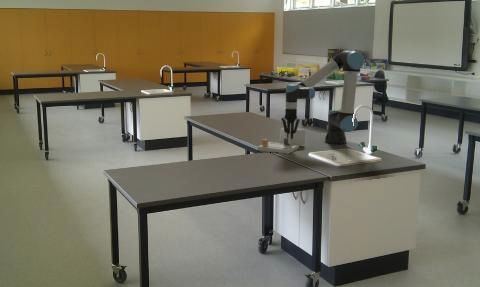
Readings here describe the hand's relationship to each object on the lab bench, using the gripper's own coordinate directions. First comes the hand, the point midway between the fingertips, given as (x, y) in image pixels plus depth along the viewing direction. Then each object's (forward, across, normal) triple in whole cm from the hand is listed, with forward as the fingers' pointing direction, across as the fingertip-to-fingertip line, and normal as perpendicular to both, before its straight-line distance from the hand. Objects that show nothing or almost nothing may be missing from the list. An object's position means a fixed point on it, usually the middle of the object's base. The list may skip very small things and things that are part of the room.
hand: (289, 143), depth 353 cm
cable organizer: (+4, -4, +13) cm, 14 cm away
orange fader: (+1, -13, -11) cm, 17 cm away
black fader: (+1, -2, 0) cm, 2 cm away
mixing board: (+4, -6, -5) cm, 9 cm away
